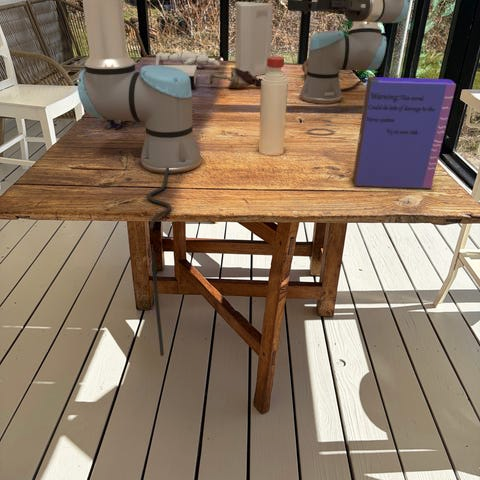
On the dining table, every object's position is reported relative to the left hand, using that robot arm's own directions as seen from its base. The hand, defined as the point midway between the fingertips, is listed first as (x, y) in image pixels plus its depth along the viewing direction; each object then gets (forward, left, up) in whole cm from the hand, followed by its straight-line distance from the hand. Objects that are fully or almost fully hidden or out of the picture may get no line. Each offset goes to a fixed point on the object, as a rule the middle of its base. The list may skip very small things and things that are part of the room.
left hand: (173, 3), depth 150 cm
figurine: (+34, -18, -33) cm, 50 cm away
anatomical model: (+58, -42, -33) cm, 79 cm away
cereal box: (-50, -68, -33) cm, 91 cm away
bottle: (-35, -37, -33) cm, 61 cm away
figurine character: (-22, +13, -33) cm, 42 cm away
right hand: (-17, -42, +2) cm, 45 cm away
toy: (+66, +16, -33) cm, 75 cm away
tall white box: (+63, -16, -33) cm, 73 cm away
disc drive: (+35, +13, -33) cm, 50 cm away
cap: (-35, -37, -9) cm, 52 cm away
